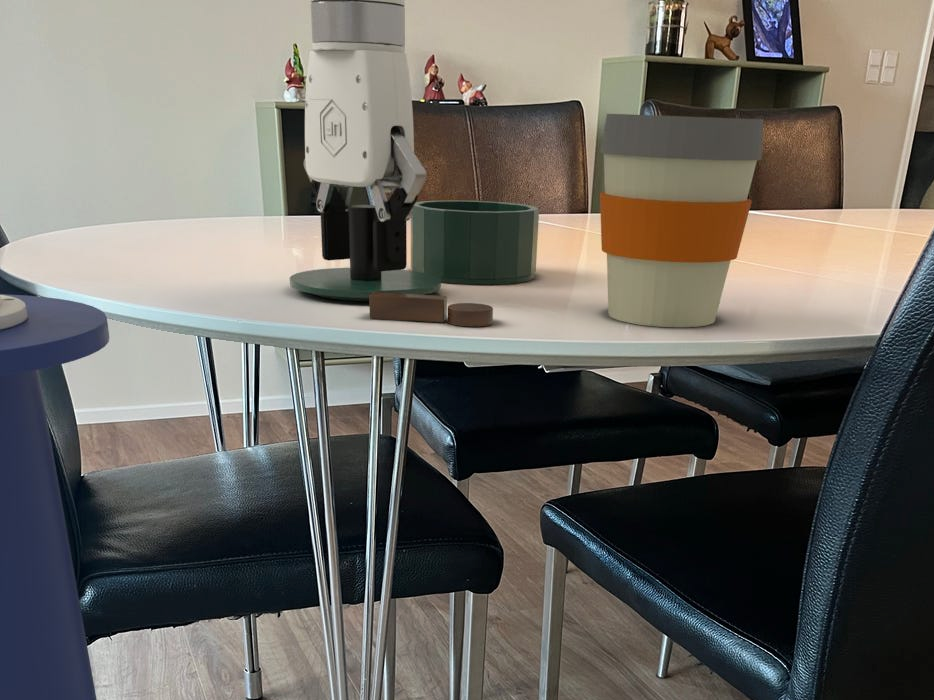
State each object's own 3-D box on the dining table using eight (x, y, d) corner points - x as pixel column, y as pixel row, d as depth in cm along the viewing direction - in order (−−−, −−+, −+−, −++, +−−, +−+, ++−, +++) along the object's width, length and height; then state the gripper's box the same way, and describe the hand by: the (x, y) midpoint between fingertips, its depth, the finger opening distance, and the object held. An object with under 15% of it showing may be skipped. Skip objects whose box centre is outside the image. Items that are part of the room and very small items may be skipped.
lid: (414, 310, 83) (414, 217, 80) (264, 298, 86) (258, 207, 82) (458, 286, 95) (459, 204, 91) (324, 276, 97) (321, 196, 94)
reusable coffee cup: (598, 329, 78) (617, 114, 71) (577, 302, 89) (592, 113, 82) (755, 333, 79) (789, 120, 72) (715, 305, 90) (741, 118, 83)
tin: (519, 288, 95) (523, 214, 92) (394, 279, 98) (394, 207, 95) (545, 271, 106) (549, 204, 103) (432, 263, 108) (432, 198, 105)
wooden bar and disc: (366, 320, 78) (366, 297, 77) (376, 312, 81) (376, 289, 81) (489, 327, 77) (490, 304, 76) (495, 319, 80) (495, 296, 80)
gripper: (261, 31, 84) (275, 255, 92) (387, 25, 73) (390, 281, 81) (334, 38, 88) (341, 250, 97) (464, 33, 77) (459, 274, 86)
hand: (363, 262), depth 89 cm, fingers open, 7 cm apart
